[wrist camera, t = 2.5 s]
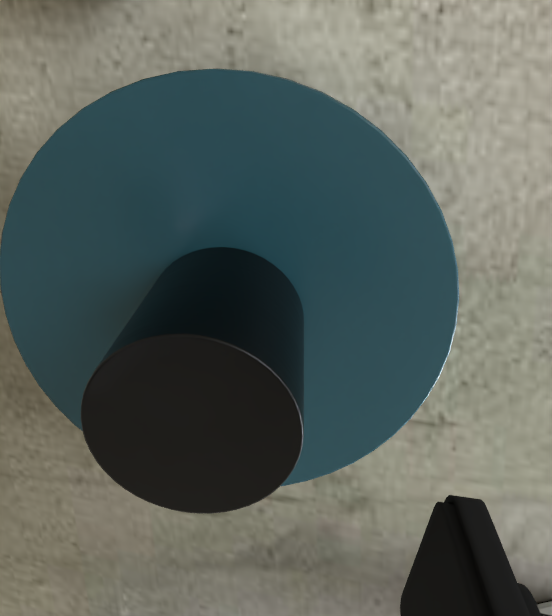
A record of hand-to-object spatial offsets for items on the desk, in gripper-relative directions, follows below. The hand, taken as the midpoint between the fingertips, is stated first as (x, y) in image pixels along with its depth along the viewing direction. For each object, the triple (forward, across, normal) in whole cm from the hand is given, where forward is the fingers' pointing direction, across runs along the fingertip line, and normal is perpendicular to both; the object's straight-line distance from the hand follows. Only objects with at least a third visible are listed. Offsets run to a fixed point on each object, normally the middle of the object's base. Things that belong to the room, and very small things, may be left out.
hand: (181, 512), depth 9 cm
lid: (+8, 0, 0) cm, 8 cm away
